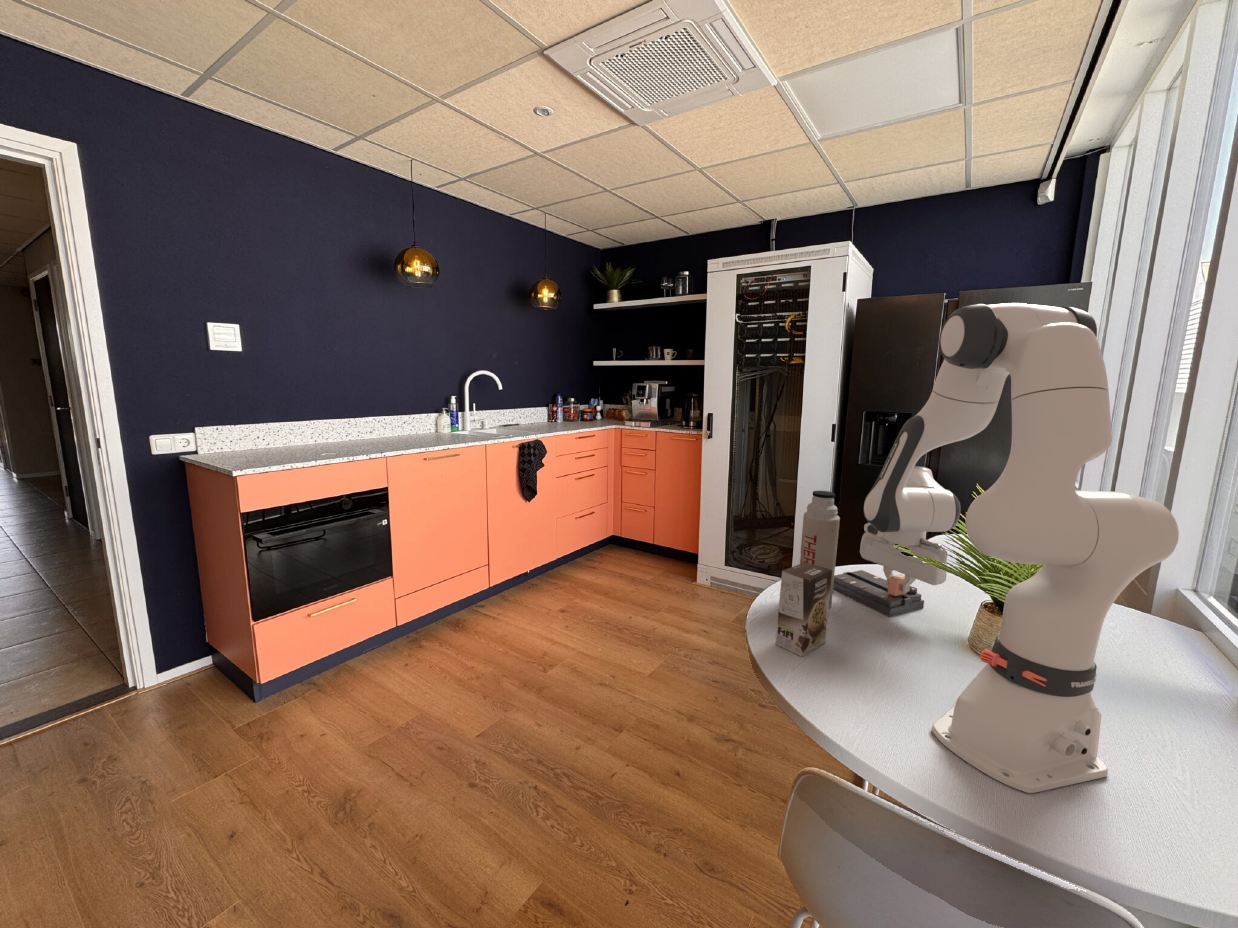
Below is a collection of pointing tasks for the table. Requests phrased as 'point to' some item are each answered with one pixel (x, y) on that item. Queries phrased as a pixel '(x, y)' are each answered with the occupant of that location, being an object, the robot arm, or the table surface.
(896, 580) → the fader
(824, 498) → the thermos bottle
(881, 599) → the block
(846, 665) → the table surface
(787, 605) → the coffee box
